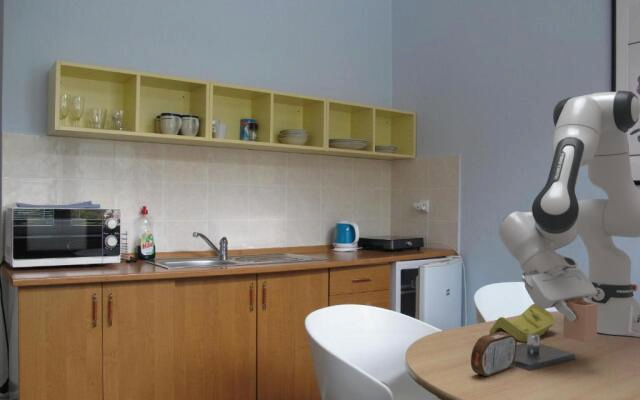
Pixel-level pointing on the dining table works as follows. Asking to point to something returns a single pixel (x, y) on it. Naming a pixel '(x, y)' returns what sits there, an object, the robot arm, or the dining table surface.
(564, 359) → the base
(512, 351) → the tin
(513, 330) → the plastic component
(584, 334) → the sleeve
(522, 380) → the dining table surface
